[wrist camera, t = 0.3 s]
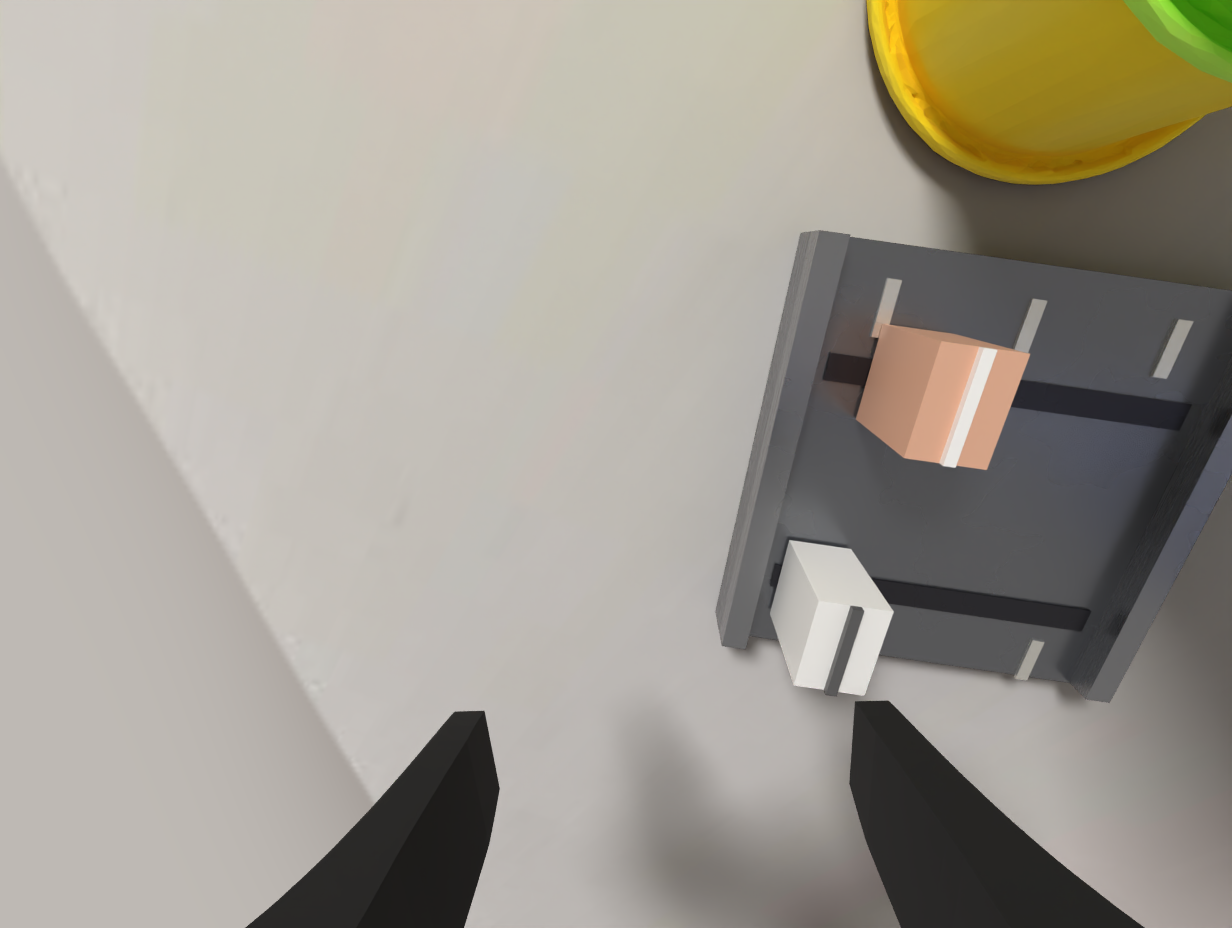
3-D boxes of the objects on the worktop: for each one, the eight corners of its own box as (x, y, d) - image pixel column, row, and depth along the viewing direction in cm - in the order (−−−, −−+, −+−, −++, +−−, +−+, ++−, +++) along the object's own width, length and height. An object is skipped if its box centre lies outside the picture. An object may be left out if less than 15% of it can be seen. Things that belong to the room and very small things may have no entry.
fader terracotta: (953, 333, 16) (1036, 355, 13) (922, 429, 17) (991, 472, 14) (882, 323, 16) (945, 342, 13) (855, 419, 17) (907, 460, 14)
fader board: (1248, 295, 17) (1323, 301, 15) (1068, 665, 21) (1108, 705, 19) (800, 232, 17) (819, 230, 15) (715, 614, 21) (721, 648, 20)
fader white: (850, 548, 19) (896, 616, 15) (828, 621, 20) (866, 700, 16) (789, 539, 19) (820, 604, 15) (769, 613, 20) (795, 690, 16)
